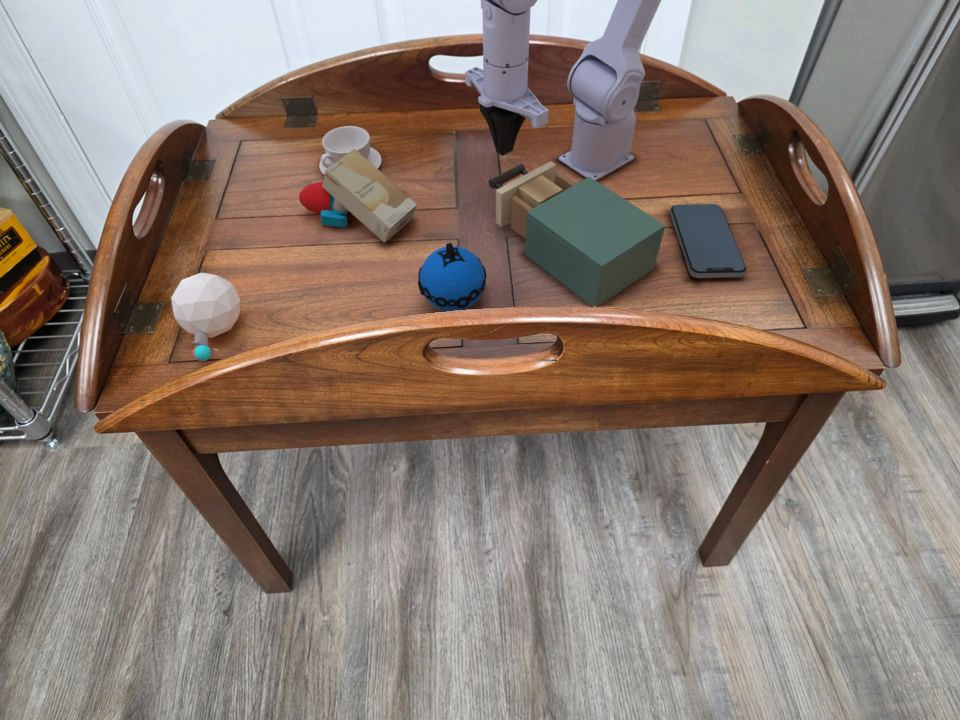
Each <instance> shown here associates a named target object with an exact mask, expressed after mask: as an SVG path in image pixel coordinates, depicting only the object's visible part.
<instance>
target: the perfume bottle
mask: <svg viewBox="0 0 960 720" xmlns="http://www.w3.org/2000/svg"><path fill="white" fill-rule="evenodd" d="M170 299H171V306H172V307H171V308H172V312H173V313H172V314H173V318H174V320H175V321H176V322H177V324H178V325H179V327H180V328H182V329H183V330H184V331H186V332H187V333H188V334H191V335H194V340H193V341H192V340H188V342H189V343H190V344H193V345H194V348H193V350H192V355H193V357H194V358H195V359H196V360H197V361H199V362H207V361H208V360H209V359H210V358H211V355H212V352H214V351H218V352H220V350H219V349H217V348H212V347H210V346H209V338H211V339H212V338H215V337H217V336H219V335H221V334H224V333H226V332H228V331H231V330H232V328H233V327H234V325H235V324H236V322H237V321H238V319H239V317H240V314H241V299H240V297H239V295H238V292H237V289H236V288H235V287H234V284H233V283H232V282H230V281H229V280H227V279H225V278H224V277H222V276H219V275H217V274H212V273H208V272H199V273H197V274H196V273H195V274H193V275H191V276H187V277H185V278H184V279H181V280H180V282H179V283H178V285H177V286H176V289H175V290H174V292H173V293H172V296H171V298H170Z"/></svg>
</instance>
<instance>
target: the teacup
mask: <svg viewBox="0 0 960 720" xmlns="http://www.w3.org/2000/svg"><path fill="white" fill-rule="evenodd" d="M321 144H322V147H323V149H324V152H325V153H323V154H322V155H321V156H320V161H319V164H318V165H319V170H320V173H321V174H322V175H324V176H325V172H326V169H327V168H329V167H330V166H331V165H333V164H334V163H335V162H337V161H338V160H339V159H341V158H342V157H343V156H345V155H346V154H347V153H349V152H350V151H352V150H353V149H354V148H355V149H356V150H357V151H358V152H359V153H360V154H361V155H363V156H364V157H365V158H366V159H367V160H368V161H369V162H370V163H371V164H373V165H374V166H375V167H376V168H377V169H378V170H379V168H380V166H381V164H382V155H381V154H380V152H379V151H378V150H377V149H375V148H374V147H372V146H371V137H370V134H369V132H368V130H366V129H364V128H362V127H360V126H355V125H345V126H339V127H338V126H337V127H336V128H333V129H331V130H329V131H328V132H327V133H325V134H324V135H323V137H322V139H321Z"/></svg>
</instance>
